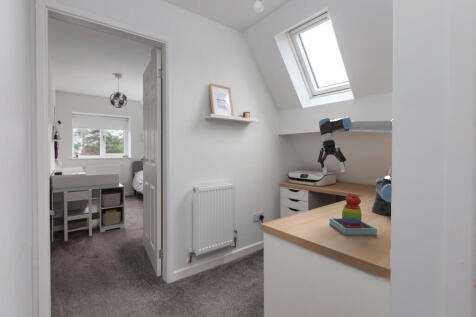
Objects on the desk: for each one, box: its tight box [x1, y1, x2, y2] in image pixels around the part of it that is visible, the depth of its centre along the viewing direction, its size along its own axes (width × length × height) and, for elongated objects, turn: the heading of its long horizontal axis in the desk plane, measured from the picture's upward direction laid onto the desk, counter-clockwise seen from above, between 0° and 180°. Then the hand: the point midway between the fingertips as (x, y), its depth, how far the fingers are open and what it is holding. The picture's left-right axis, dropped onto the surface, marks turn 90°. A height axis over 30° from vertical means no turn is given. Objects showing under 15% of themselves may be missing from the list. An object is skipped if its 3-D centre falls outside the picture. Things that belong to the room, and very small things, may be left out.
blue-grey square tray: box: [328, 217, 378, 237], centre depth 121 cm, size 16×17×4 cm
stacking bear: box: [341, 192, 364, 228], centre depth 121 cm, size 11×10×18 cm
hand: (334, 172), depth 148 cm, fingers open, 13 cm apart
